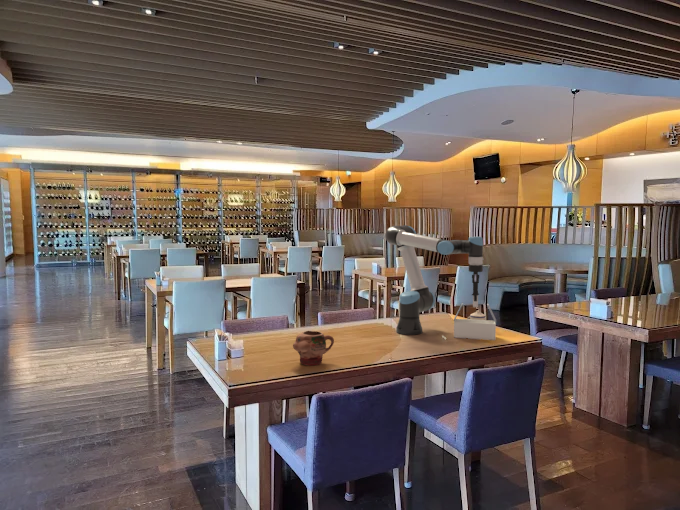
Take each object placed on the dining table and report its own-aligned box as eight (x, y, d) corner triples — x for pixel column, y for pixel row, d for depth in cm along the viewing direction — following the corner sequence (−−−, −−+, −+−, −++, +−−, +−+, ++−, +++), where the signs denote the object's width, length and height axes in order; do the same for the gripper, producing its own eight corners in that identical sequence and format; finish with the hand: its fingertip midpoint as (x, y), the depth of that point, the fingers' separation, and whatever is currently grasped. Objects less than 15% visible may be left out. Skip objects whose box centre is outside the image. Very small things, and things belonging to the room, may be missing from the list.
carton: (453, 337, 267) (454, 321, 266) (455, 334, 275) (455, 318, 275) (495, 340, 260) (495, 324, 260) (495, 336, 269) (495, 320, 268)
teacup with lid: (488, 330, 285) (489, 310, 284) (479, 332, 280) (479, 312, 279) (472, 326, 295) (472, 308, 294) (462, 328, 289) (462, 309, 289)
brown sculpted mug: (326, 356, 230) (326, 327, 230) (339, 362, 220) (339, 332, 219) (288, 362, 220) (288, 332, 219) (300, 369, 210) (300, 337, 209)
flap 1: (454, 321, 266) (453, 320, 266) (455, 318, 274) (454, 317, 275) (462, 305, 264) (461, 304, 264) (463, 302, 273) (462, 302, 273)
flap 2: (495, 320, 268) (496, 320, 268) (495, 323, 260) (496, 323, 259) (487, 303, 269) (488, 303, 269) (487, 306, 260) (488, 305, 260)
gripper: (482, 265, 258) (482, 309, 259) (482, 263, 270) (482, 305, 271) (468, 265, 260) (467, 308, 261) (469, 263, 272) (468, 304, 274)
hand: (475, 306), depth 266 cm, fingers closed
